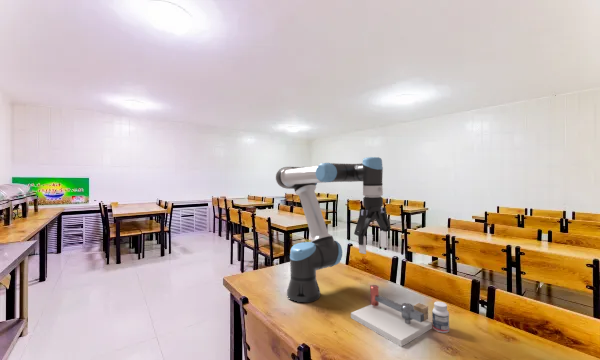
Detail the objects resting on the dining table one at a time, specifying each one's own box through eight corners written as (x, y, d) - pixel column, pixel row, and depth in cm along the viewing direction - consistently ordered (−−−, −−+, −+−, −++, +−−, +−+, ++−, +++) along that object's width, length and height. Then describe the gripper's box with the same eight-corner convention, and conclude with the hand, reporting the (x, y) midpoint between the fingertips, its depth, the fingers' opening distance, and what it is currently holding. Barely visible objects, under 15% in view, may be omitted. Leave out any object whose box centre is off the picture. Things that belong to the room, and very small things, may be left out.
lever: (368, 303, 109) (367, 286, 109) (374, 301, 111) (374, 284, 111) (418, 328, 90) (418, 307, 90) (425, 325, 93) (425, 304, 93)
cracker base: (350, 317, 104) (350, 308, 104) (381, 304, 114) (381, 295, 114) (401, 346, 86) (401, 334, 86) (432, 328, 96) (432, 317, 96)
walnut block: (413, 317, 100) (413, 305, 100) (419, 314, 102) (418, 302, 102) (422, 321, 97) (422, 309, 97) (428, 318, 99) (428, 306, 99)
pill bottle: (434, 323, 99) (434, 299, 99) (450, 328, 96) (450, 303, 96) (430, 329, 95) (430, 304, 95) (447, 335, 92) (447, 308, 92)
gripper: (360, 198, 97) (360, 258, 97) (399, 195, 112) (399, 246, 112) (344, 197, 103) (345, 253, 103) (383, 194, 118) (383, 243, 118)
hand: (373, 250), depth 108 cm, fingers open, 13 cm apart
